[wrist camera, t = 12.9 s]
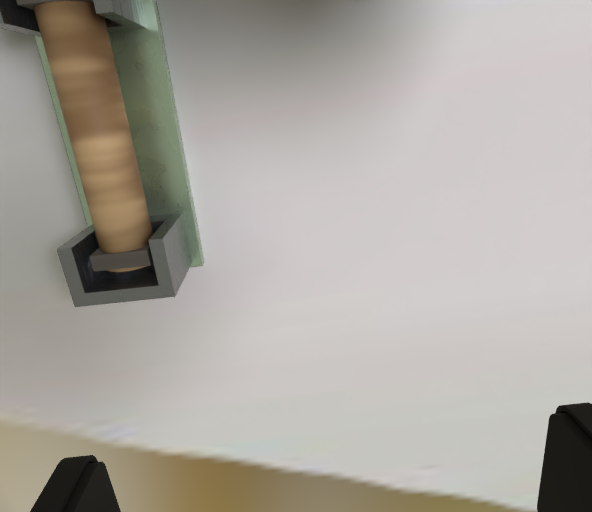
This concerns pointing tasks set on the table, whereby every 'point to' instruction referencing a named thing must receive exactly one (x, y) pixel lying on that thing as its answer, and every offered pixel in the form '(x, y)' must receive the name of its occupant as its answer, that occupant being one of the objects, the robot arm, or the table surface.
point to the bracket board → (149, 153)
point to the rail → (97, 130)
